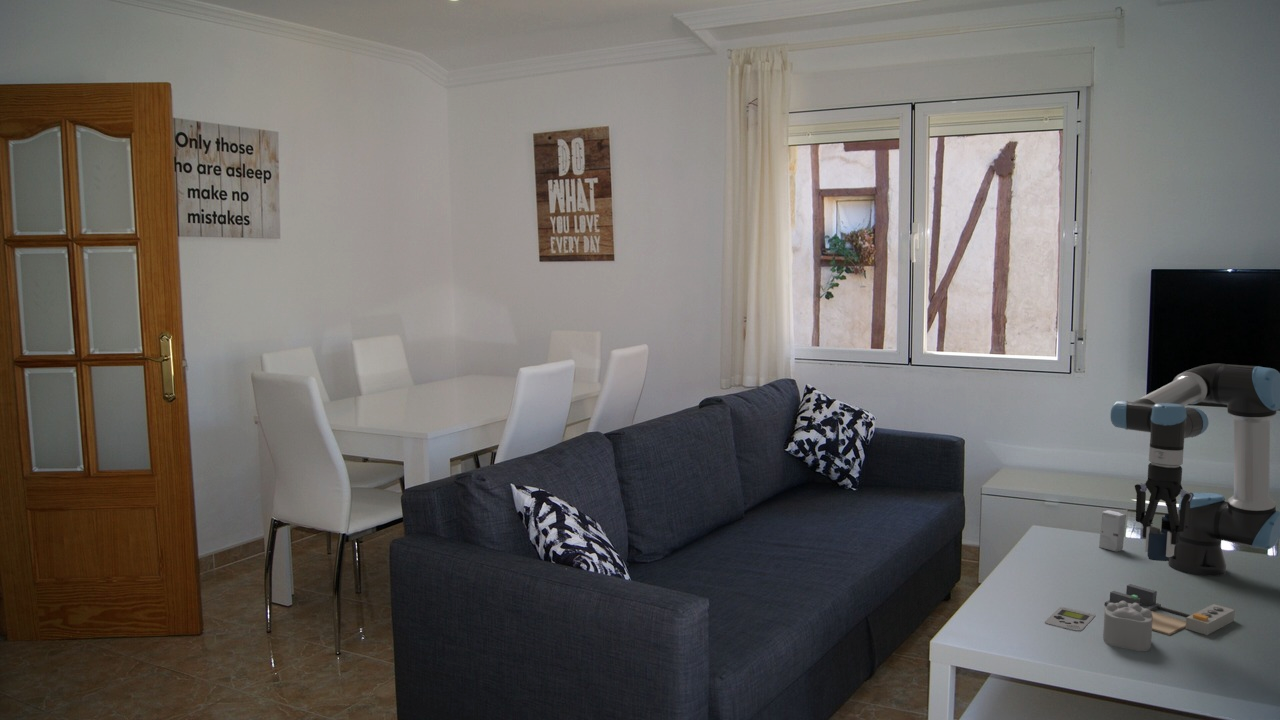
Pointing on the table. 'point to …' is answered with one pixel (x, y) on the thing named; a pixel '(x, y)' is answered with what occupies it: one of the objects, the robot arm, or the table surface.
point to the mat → (1166, 624)
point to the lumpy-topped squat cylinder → (1128, 626)
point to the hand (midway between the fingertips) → (1159, 553)
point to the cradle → (1140, 598)
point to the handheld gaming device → (1070, 619)
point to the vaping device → (1159, 541)
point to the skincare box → (1112, 530)
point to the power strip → (1210, 619)
